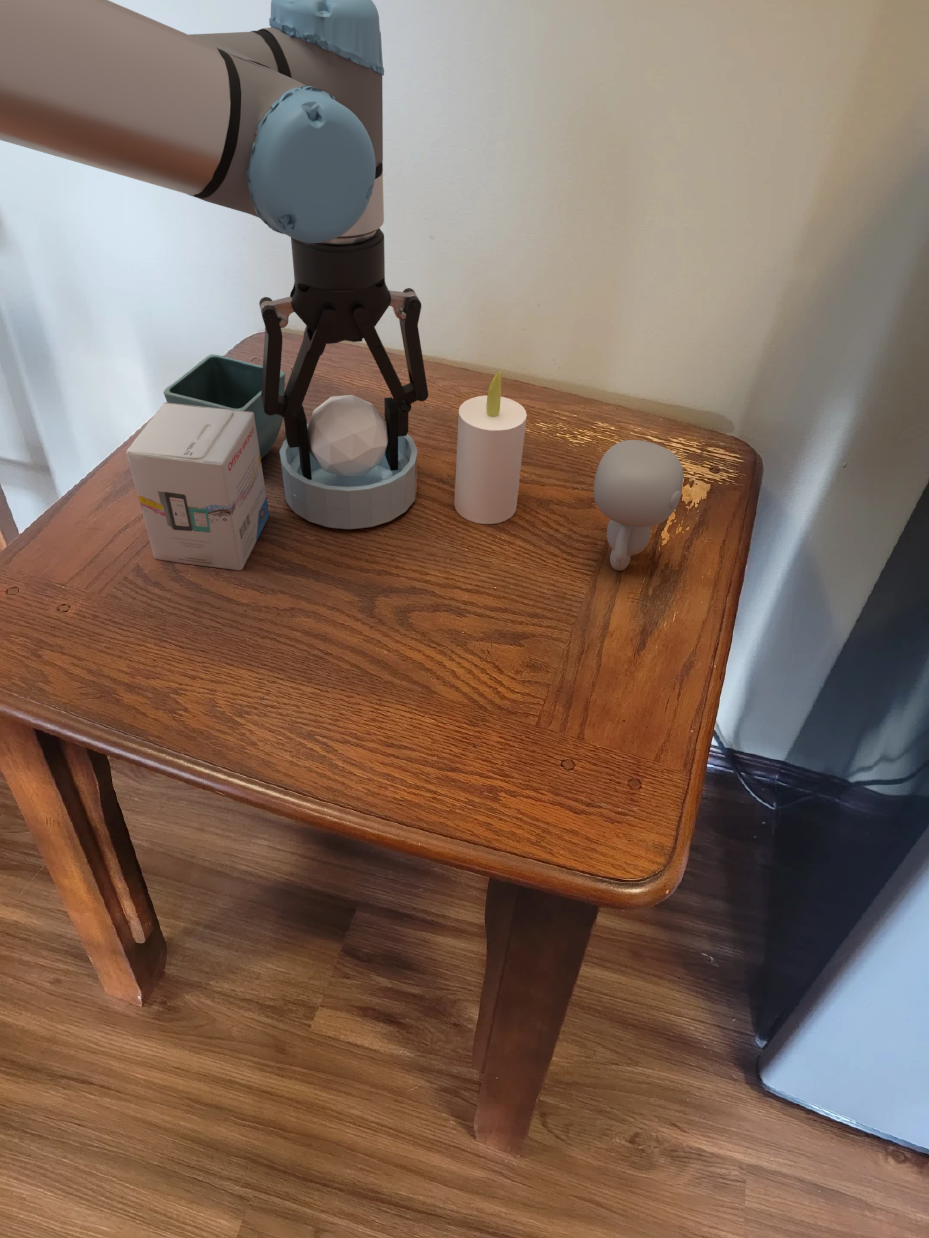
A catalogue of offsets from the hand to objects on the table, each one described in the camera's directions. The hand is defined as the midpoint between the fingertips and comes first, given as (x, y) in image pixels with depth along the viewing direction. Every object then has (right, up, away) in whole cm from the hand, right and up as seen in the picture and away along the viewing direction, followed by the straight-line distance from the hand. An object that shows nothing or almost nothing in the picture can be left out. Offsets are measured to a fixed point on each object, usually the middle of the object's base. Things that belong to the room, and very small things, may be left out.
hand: (349, 467), depth 84 cm
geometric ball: (0, 0, 0) cm, 0 cm away
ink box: (-12, -8, -4) cm, 15 cm away
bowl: (0, -2, +2) cm, 3 cm away
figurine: (+26, -10, -3) cm, 28 cm away
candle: (+13, -4, +2) cm, 14 cm away
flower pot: (-13, +2, +6) cm, 14 cm away
